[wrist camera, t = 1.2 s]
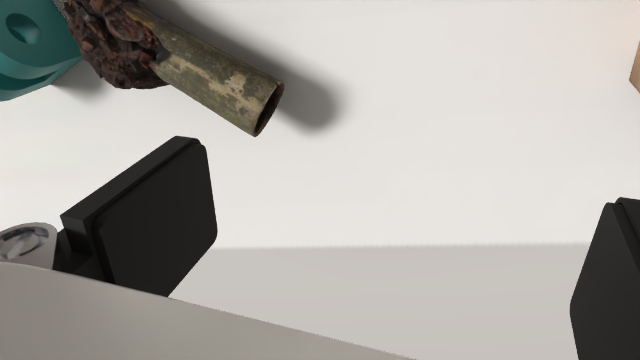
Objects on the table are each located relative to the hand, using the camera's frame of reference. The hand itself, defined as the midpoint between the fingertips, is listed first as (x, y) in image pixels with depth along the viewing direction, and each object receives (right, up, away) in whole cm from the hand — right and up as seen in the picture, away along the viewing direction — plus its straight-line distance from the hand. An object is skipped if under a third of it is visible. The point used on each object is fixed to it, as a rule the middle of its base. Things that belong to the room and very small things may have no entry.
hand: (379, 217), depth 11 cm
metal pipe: (-6, +10, +29) cm, 32 cm away
